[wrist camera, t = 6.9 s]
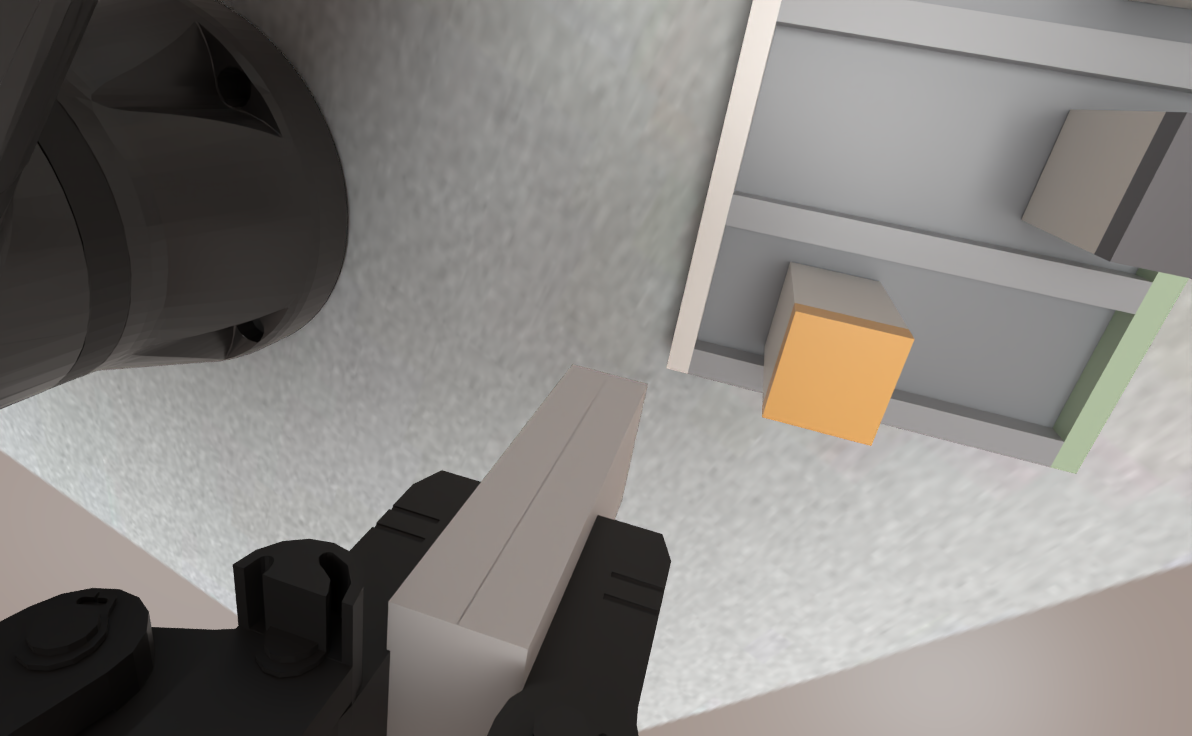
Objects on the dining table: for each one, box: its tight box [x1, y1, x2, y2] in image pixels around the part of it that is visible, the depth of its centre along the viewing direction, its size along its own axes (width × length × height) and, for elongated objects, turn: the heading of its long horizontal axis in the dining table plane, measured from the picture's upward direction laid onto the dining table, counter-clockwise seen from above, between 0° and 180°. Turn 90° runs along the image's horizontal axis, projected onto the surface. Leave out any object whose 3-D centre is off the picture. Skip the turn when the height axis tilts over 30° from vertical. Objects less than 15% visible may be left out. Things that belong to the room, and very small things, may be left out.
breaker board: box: [666, 0, 1192, 474], centre depth 20 cm, size 14×18×2 cm
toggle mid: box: [1021, 109, 1192, 279], centre depth 16 cm, size 3×3×6 cm
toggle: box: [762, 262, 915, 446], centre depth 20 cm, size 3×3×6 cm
